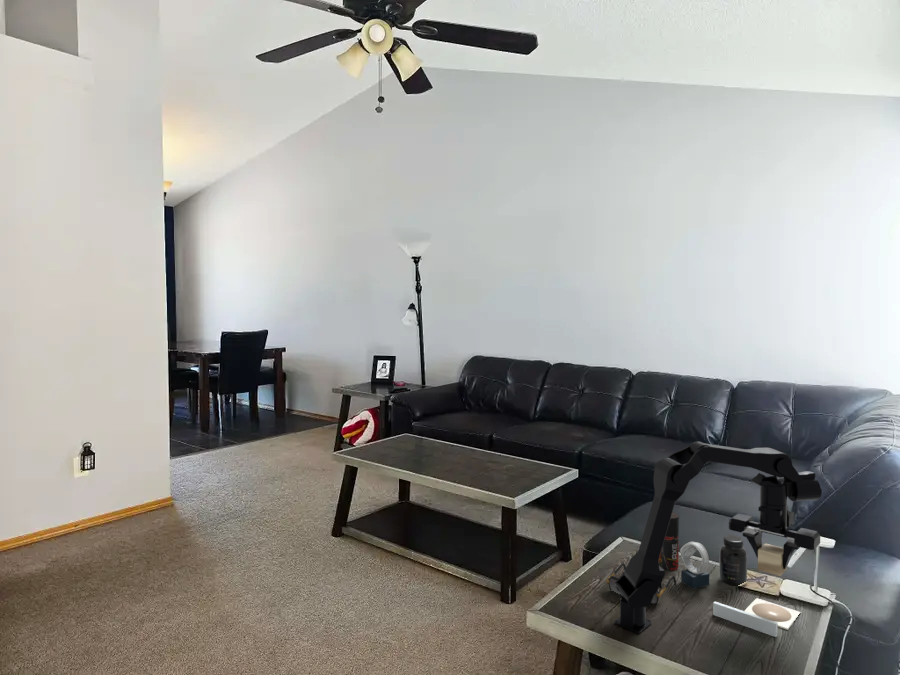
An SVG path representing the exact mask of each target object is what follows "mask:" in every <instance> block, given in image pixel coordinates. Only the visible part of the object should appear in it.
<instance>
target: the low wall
mask: <svg viewBox="0 0 900 675" xmlns="http://www.w3.org/2000/svg"><path fill="white" fill-rule="evenodd" d="M712 607H713V608H712V615H713V616H715V617H717V618H718V617H719V618H722V619H724V620H727V621H729V622H732V623H735V624H737V625H741V626H743V627H746V628H749V629H752V630H755V631H757V632H760V633H762V634H766V635H768V636H771V637H775V638H777V637H778V628H779V627H778V623H777V622H774V621H771V620H768V619H765V618H762V617H759V616H757V615H754V614H751V613H748V612H745V610H742V609H739V608H735V607H734V606H731V605H727V604H723V603H721V602H718V601H713V602H712Z"/></svg>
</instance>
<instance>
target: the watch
mask: <svg viewBox="0 0 900 675" xmlns="http://www.w3.org/2000/svg"><path fill="white" fill-rule="evenodd" d="M697 551H698V552H699V555H700V556H701V563H700V564H699V567H698V566H694V565H693V563H692V559H691V558H692V557H693V555H694V554H695V553H696V552H697ZM679 554H680V557H681V558H680V559H682V563H683V565H684V566H685V568H686V569H682V570H681V571H680V572H681V575H680V580H681V583H683V584H685V585H686V586H688V587H689V588H691V589H693V590H694V589H697V588H702V587H706V586H710V573H708V572H707V570H708V567H709V565H710V558H709V554H708V551H707V549H706V547H705V546H704V545H703V544H702V543H700V542H698V541H697V542H695V541H689V542H686V543H685V544H683V546H681V548H680V549H679Z"/></svg>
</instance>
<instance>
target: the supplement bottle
mask: <svg viewBox="0 0 900 675" xmlns="http://www.w3.org/2000/svg"><path fill="white" fill-rule="evenodd" d="M722 544H723V545H721V546H720V548H719V555H718V556H719V557H718V558H719V564H718V568H719V570H718V571H719V572H718V573H719V575H718V576H719V580H720V581H721V582H722V584H724V585H727V586H731V587H735V586H738V585H740V584H742V583H744V582H746V581H747V582H748V552H747V550H746V549H745V548H744V539H743V538H742V536H738V535H733V534H727V535H724V536H723V542H722Z"/></svg>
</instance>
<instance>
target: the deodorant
mask: <svg viewBox="0 0 900 675" xmlns="http://www.w3.org/2000/svg"><path fill="white" fill-rule="evenodd" d="M679 534H680V515H679V514H678V513H676V512H674V511H673V512H672V516H671V519H670V522H669V526H668V529H667V533H666V536H665V540H664V543H663V546H662V550H661V553H660V557H659V566H660V567H661V568H662V569H663V570H664V571H676V570H678V569H679V566H680V565H679V560H680V559H679V554H680V549H679V548H680V547H679V546H680V545H679V543H680V539H679V538H680V535H679Z"/></svg>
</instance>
